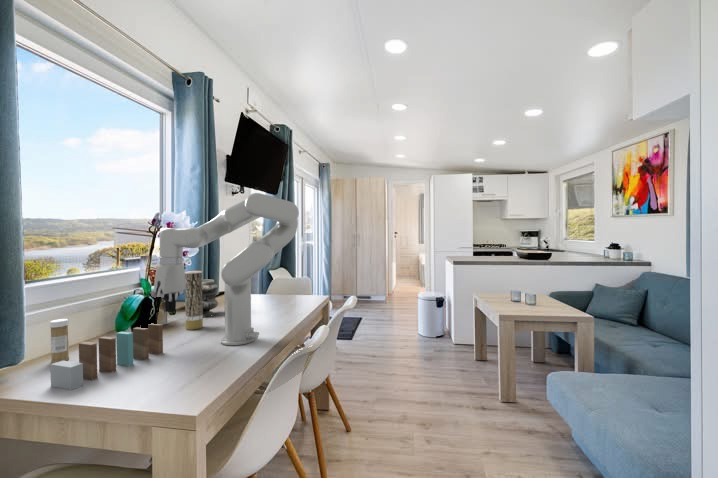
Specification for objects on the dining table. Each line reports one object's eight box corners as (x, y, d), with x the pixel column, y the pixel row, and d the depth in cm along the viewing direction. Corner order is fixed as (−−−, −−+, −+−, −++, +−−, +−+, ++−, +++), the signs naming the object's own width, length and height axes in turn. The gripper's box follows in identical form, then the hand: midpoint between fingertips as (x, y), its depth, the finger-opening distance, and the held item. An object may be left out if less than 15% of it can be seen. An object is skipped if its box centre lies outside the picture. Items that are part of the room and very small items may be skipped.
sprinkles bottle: (70, 357, 117) (70, 317, 116) (66, 361, 113) (65, 320, 112) (53, 359, 115) (52, 319, 114) (48, 364, 111) (47, 322, 110)
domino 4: (137, 356, 117) (137, 327, 116) (148, 358, 115) (148, 328, 115) (133, 358, 115) (132, 328, 115) (144, 359, 113) (143, 329, 113)
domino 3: (121, 362, 111) (121, 331, 111) (133, 364, 110) (132, 332, 110) (117, 364, 110) (116, 333, 110) (128, 366, 108) (127, 334, 108)
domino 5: (152, 351, 122) (151, 323, 122) (163, 352, 120) (162, 324, 120) (148, 353, 120) (147, 324, 120) (159, 354, 119) (158, 325, 119)
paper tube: (197, 325, 157) (196, 270, 157) (205, 327, 153) (204, 271, 153) (182, 328, 152) (181, 271, 151) (190, 331, 148) (189, 272, 147)
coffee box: (156, 323, 162) (155, 289, 162) (167, 323, 161) (167, 289, 161) (139, 328, 153) (139, 292, 153) (152, 329, 152) (151, 292, 152)
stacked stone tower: (215, 317, 173) (215, 281, 173) (189, 318, 171) (189, 282, 170) (220, 312, 185) (219, 278, 185) (195, 313, 182) (195, 279, 182)
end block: (83, 385, 94) (82, 363, 94) (71, 390, 91) (70, 367, 91) (63, 381, 97) (62, 360, 97) (50, 386, 94) (50, 364, 94)
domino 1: (85, 375, 101) (84, 341, 101) (97, 377, 99) (96, 343, 99) (79, 378, 99) (78, 343, 99) (91, 380, 98) (90, 344, 98)
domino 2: (104, 368, 106) (103, 336, 106) (116, 370, 104) (115, 337, 104) (99, 370, 105) (98, 337, 104) (111, 372, 103) (110, 339, 103)
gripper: (179, 260, 135) (179, 307, 135) (145, 262, 121) (144, 314, 121) (194, 260, 133) (194, 308, 133) (161, 263, 119) (160, 316, 119)
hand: (170, 311), depth 127 cm, fingers closed
